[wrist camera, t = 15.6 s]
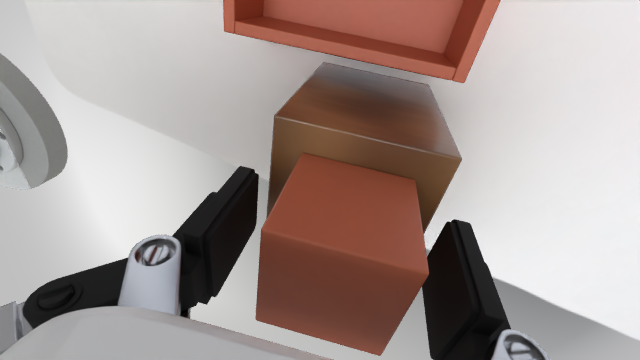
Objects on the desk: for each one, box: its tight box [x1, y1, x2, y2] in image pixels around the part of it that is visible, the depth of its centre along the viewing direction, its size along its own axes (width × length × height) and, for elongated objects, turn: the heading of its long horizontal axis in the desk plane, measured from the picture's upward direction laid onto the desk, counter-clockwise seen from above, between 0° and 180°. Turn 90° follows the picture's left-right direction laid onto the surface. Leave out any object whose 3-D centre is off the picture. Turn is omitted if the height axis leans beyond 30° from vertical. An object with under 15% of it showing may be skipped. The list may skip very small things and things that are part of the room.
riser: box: [267, 62, 462, 235], centre depth 17 cm, size 7×7×10 cm
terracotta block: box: [256, 153, 429, 356], centre depth 11 cm, size 4×4×4 cm
